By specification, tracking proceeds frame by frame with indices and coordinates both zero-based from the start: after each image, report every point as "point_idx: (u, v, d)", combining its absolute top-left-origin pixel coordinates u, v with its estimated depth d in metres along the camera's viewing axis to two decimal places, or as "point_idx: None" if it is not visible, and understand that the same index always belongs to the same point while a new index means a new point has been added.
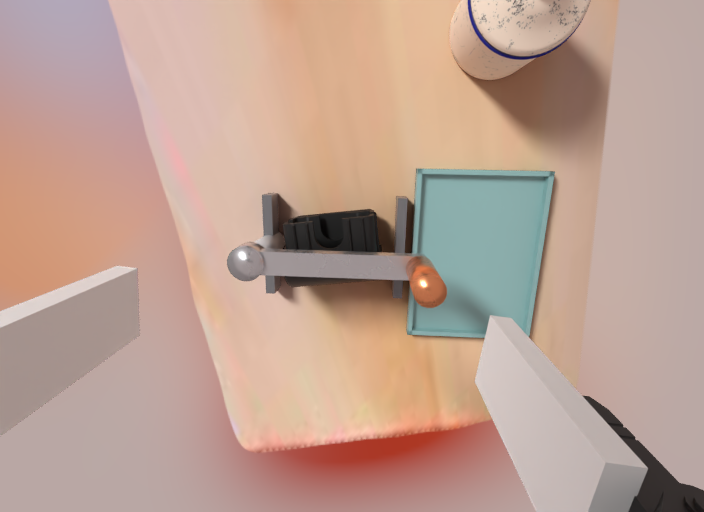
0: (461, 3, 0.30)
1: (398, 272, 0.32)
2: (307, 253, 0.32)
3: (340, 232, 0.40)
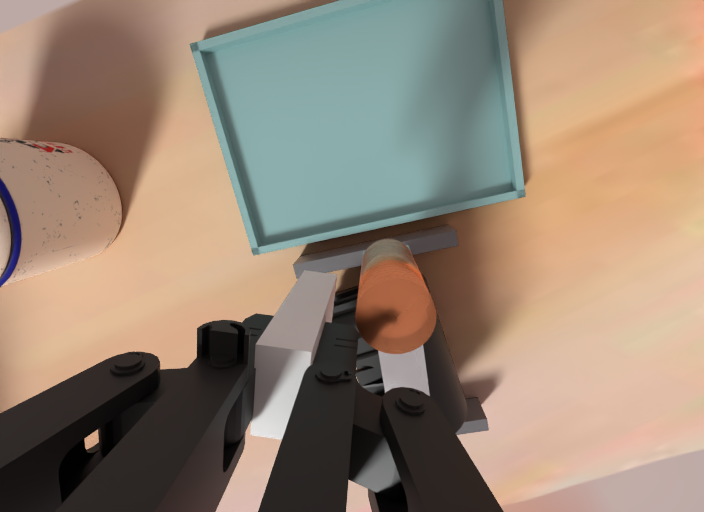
0: None
1: None
2: None
3: None
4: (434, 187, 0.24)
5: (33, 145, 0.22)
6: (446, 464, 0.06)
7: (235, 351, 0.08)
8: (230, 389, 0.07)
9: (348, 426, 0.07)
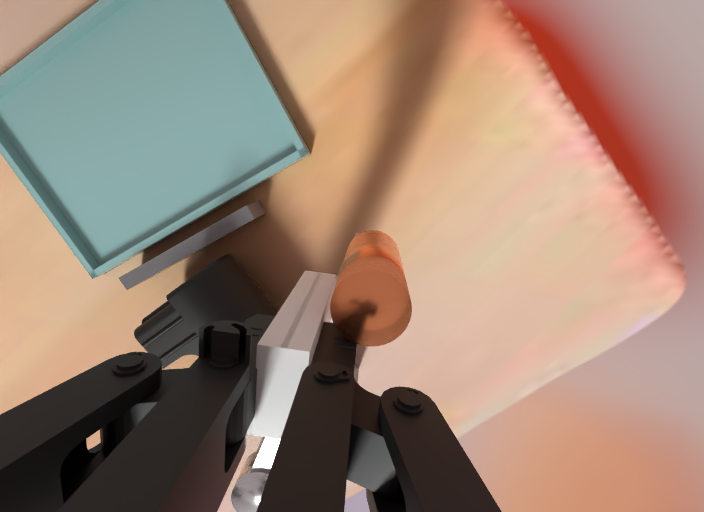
0: None
1: None
2: None
3: None
4: (228, 169, 0.25)
5: None
6: (444, 464, 0.06)
7: (237, 351, 0.08)
8: (232, 389, 0.07)
9: (346, 426, 0.07)
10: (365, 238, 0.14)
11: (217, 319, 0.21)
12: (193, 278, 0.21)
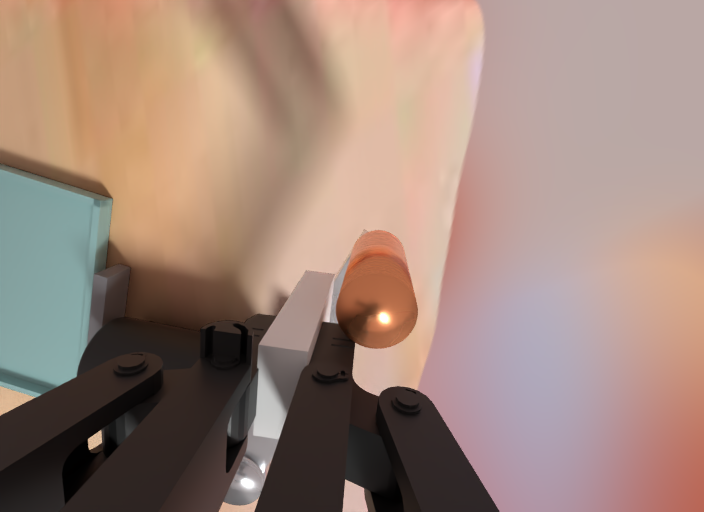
0: None
1: None
2: None
3: None
4: (79, 260, 0.28)
5: None
6: (442, 463, 0.06)
7: (238, 351, 0.08)
8: (233, 390, 0.07)
9: (345, 425, 0.07)
10: (374, 238, 0.14)
11: None
12: (83, 354, 0.23)
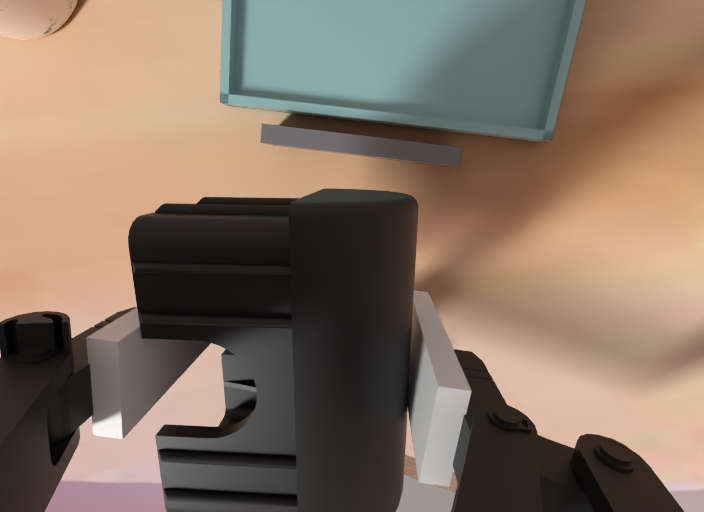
0: None
1: None
2: (435, 485, 0.16)
3: None
4: (454, 97, 0.20)
5: None
6: None
7: (53, 342, 0.08)
8: (49, 379, 0.07)
9: (535, 488, 0.06)
10: None
11: (355, 326, 0.08)
12: (372, 206, 0.08)
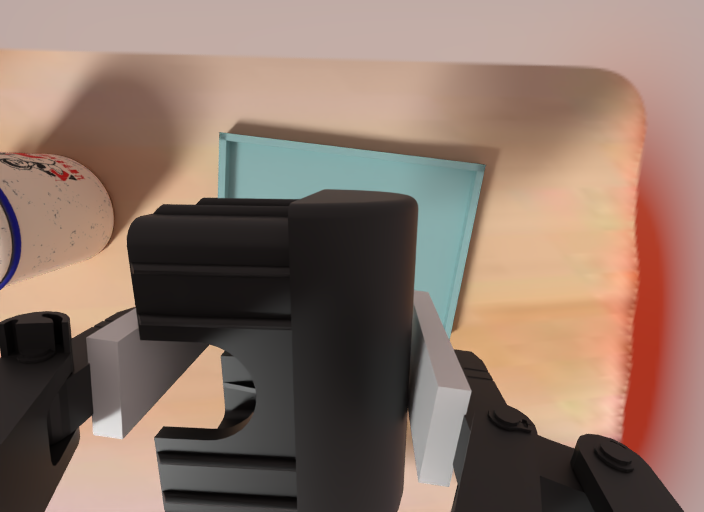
0: None
1: None
2: None
3: None
4: None
5: (51, 172, 0.24)
6: None
7: (52, 342, 0.08)
8: (49, 379, 0.07)
9: (535, 488, 0.06)
10: None
11: (355, 328, 0.08)
12: (372, 207, 0.08)
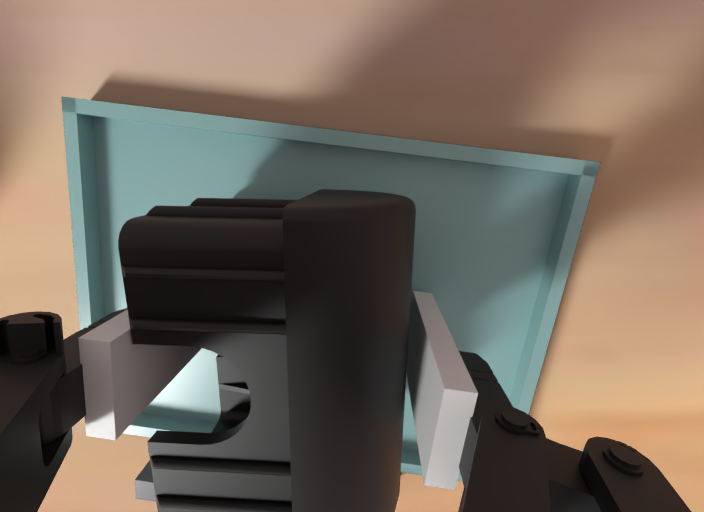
0: None
1: None
2: None
3: None
4: None
5: None
6: None
7: (44, 342, 0.08)
8: (41, 379, 0.07)
9: (544, 492, 0.06)
10: None
11: (351, 332, 0.08)
12: (369, 210, 0.08)
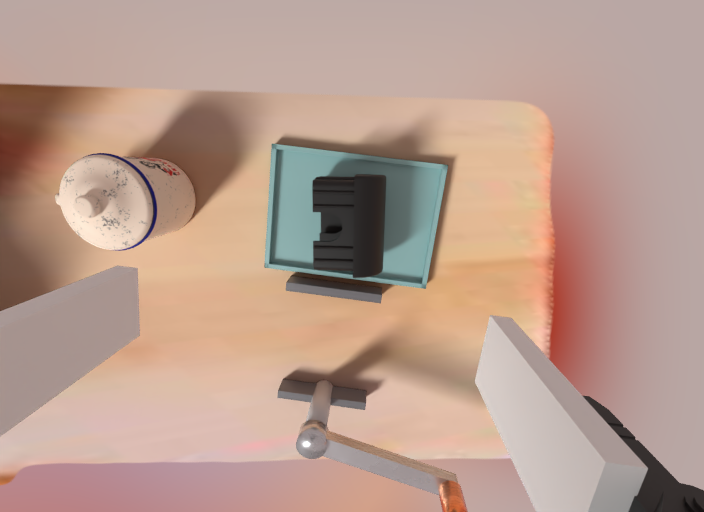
0: None
1: (432, 487, 0.38)
2: (365, 451, 0.37)
3: None
4: None
5: (164, 169, 0.37)
6: None
7: None
8: None
9: None
10: None
11: (369, 206, 0.34)
12: (373, 176, 0.33)
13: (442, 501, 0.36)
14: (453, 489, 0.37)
